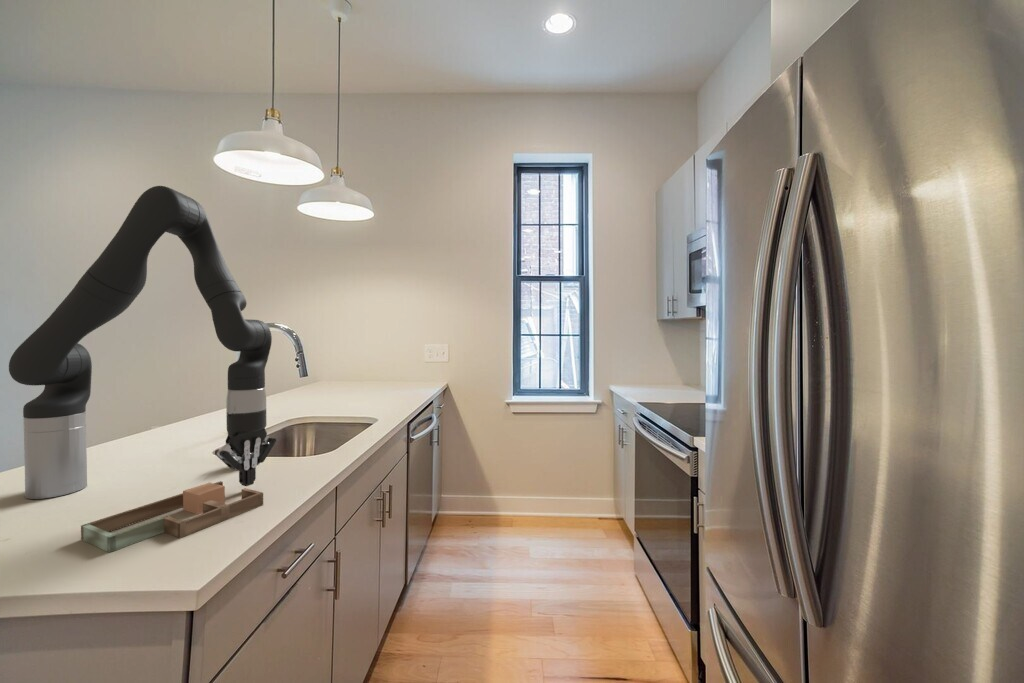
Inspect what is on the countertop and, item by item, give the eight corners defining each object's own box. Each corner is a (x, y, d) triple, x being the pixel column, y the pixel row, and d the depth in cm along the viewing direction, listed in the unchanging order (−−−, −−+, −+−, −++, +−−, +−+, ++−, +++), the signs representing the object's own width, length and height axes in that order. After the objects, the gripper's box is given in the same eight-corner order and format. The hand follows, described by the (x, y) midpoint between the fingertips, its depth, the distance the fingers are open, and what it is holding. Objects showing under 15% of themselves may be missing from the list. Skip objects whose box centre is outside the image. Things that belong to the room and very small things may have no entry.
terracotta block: (183, 510, 83) (183, 490, 83) (209, 500, 87) (209, 482, 87) (198, 514, 81) (198, 494, 81) (224, 505, 85) (224, 486, 85)
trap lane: (81, 539, 71) (80, 525, 71) (220, 492, 91) (220, 481, 91) (126, 559, 65) (125, 544, 65) (264, 504, 86) (264, 492, 86)
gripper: (263, 402, 99) (264, 473, 100) (204, 412, 87) (205, 492, 88) (285, 405, 96) (285, 477, 97) (226, 415, 84) (227, 498, 85)
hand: (247, 484), depth 92 cm, fingers closed
